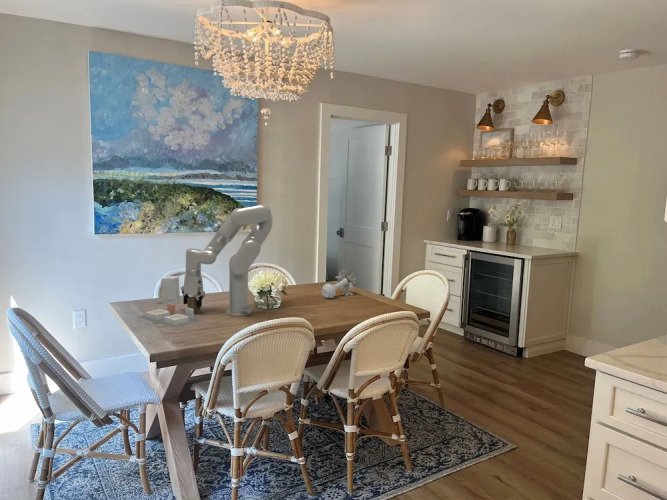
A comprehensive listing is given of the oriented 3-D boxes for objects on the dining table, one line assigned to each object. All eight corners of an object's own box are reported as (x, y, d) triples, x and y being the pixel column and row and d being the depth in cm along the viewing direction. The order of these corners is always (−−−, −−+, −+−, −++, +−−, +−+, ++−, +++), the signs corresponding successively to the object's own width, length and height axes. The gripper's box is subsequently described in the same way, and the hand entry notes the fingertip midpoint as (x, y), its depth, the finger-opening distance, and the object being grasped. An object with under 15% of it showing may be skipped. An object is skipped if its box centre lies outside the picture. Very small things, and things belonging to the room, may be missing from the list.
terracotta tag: (175, 314, 253) (175, 304, 252) (172, 314, 252) (172, 305, 251) (169, 312, 255) (169, 303, 255) (167, 313, 254) (167, 303, 253)
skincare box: (180, 303, 280) (179, 275, 278) (176, 306, 273) (176, 278, 271) (165, 302, 279) (164, 275, 277) (161, 305, 273) (161, 277, 271)
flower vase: (332, 310, 299) (358, 294, 316) (332, 284, 291) (359, 268, 308) (317, 303, 307) (343, 287, 324) (316, 277, 299) (343, 262, 316)
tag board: (202, 322, 243) (202, 315, 243) (175, 329, 230) (175, 322, 230) (164, 312, 259) (164, 305, 259) (137, 318, 246) (137, 312, 245)
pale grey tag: (193, 318, 245) (193, 309, 244) (191, 319, 244) (191, 309, 243) (187, 317, 248) (187, 307, 247) (185, 318, 246) (185, 308, 246)
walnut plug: (200, 314, 258) (200, 297, 256) (193, 316, 254) (193, 299, 253) (194, 313, 260) (194, 296, 259) (187, 314, 256) (187, 297, 255)
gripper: (210, 274, 252) (209, 307, 255) (187, 269, 262) (187, 301, 264) (198, 276, 246) (198, 309, 248) (176, 271, 256) (175, 303, 258)
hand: (192, 305), depth 256 cm, fingers open, 9 cm apart
